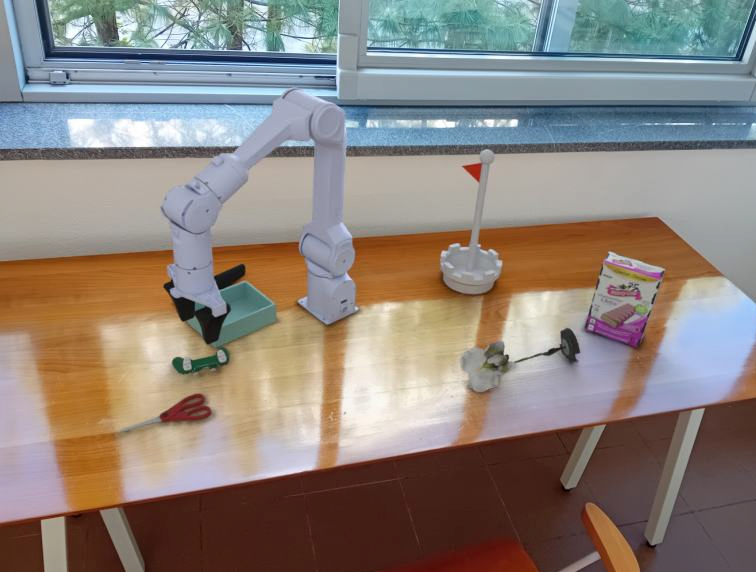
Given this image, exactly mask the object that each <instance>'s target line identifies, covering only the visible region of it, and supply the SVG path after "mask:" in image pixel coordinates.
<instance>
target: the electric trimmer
mask: <svg viewBox="0 0 756 572" xmlns="http://www.w3.org/2000/svg"><path fill="white" fill-rule="evenodd" d="M245 275H246V265H245V264H244V263H240V264H238V265H236V266H233V267H231V268H229V269H226V270H224V271H223V272H220V273H218V274H216V275H215V274H214V280H215V282H216V284H217V287H218V290H222V289H224V288H227V287H230V286H232V285H234V283H236V282H237V281H239V280H240V279H241V278H243V277H244V276H245Z"/></svg>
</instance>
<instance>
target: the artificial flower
mask: <svg viewBox="0 0 756 572" xmlns="http://www.w3.org/2000/svg"><path fill="white" fill-rule="evenodd" d="M559 351H561V354H562V355H563V356H565V358H566V359H567V360H568V361H569V362H573V363H579V361H580V360H579V359H577V358H576V355H579V354H581V348H580V344H579V341H578V339H577V336H576V334H575V333H574V331H573V330H572V329H571V328H570V327H565V328H564V329H562V330H560V343H559V347H552V348H549V349H548V350H547V351H544V352H539V353H536V354H533V355H531V356H528V357H523V358H520V359H518V360H514V361H509V360H510V355H509V354H507V353H506V354H505V342H504V341H502V340H498V341H497V340H496V341H495V342H490V343H489V344H488V345H487V347H486V348H485V350H484V349H483V348H481V347H478V346H476V347H472V348H471V349H468V350H465V351H464V352H463V353H462V355H461V357H460V361H459V362H460V363H459V364H460V369H461V370H462V372H464V373H466V374H468V375H469V376H468V377H467V383H468V388H469V389H471V390H473V391H474V392H476V393H483V392H486V391H488V390H490V389H494V388H497V386H498V385H499V376H503V375H506V374H509V373H510V372H511V371H513V370H515V368H516V367H517V363H522V362H524V361H528V360H530V359H534V358H537V357H540V356H543V357H550V356H552V355H554V354H556V353H557V352H559Z"/></svg>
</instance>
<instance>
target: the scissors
mask: <svg viewBox="0 0 756 572" xmlns="http://www.w3.org/2000/svg"><path fill="white" fill-rule="evenodd" d="M195 399H199V400H197V401H194V402H191V403H189V402H190V401H192V400H195ZM204 403H205V395H204V394H203V393H193V394H191V395H187V396H186V397H184V398H183V399H181V400H180V401H178V402H177V403H175V404H174V405H173V406H171V407H170V408H168V409H166V410H165V411H163V412H161V413H160V414H159V416H156V417H155V418H152V419H148V420H146V421H143V422H140V423H137V424H135V425H132V426H129V427H126V428H123V429H119V430H117V431H116V432H115V433H116V434H118V433H123V432H126V431H130V430H133V429H137V428H140V427H143V426H147V425H150V424H154V423H157V422H158V423H159V422H162V423H169V422H194V421H200V420H204V419H207V418H208V417H210V416H211V414H212V410H211V408H210V406H208V405H203V404H204ZM185 410H186V411H185ZM203 411H205V413H202V414H197V415H193V414H196V413H199V412H203Z"/></svg>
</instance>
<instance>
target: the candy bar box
mask: <svg viewBox="0 0 756 572" xmlns="http://www.w3.org/2000/svg"><path fill="white" fill-rule="evenodd" d="M665 273H666V269H665V268H663V267H660V266H657V265H653V264H650V263H647V262H644V261H640V260H637V259H635V258H631V257H628V256H625V255H621V254H619V253H615V252H612V251H608V252H607V254H606V256H605V258H604V260H603V261H602V264H601V268H600V271H599V275H598V279H597V282H596V285H595V290H594V293H593V296H592V300H591V304H590V307H589V310H588V314H587V318H586V321H585V324H584V331H587V332H589V333H593V334H595V335H598V336H600V337H601V336H602V337H604V338H607V339H610V340H613V341H616V342H618V343H621V344H625V345H627V346H630V347H633V348H636V349H639V348H640V345H641V343H642V341H643V339H644V336H645V333H646V330H647V326H648V324H649V320H650V317H651V314H652V311H653V310H654V305H655V302H656V299H657V296H658V293H659V290H660V289H661V288H660V287H661V285H662V282H663V279H664V276H665Z"/></svg>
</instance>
